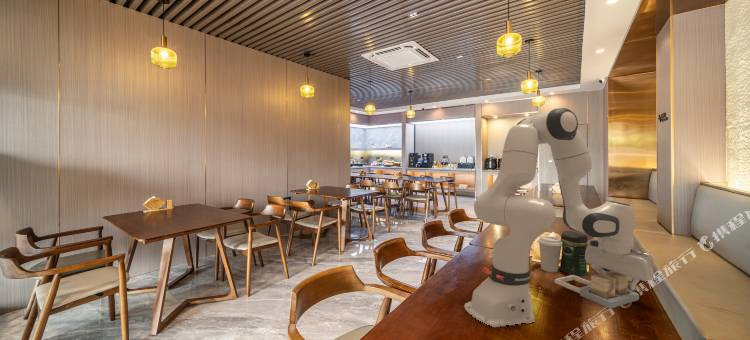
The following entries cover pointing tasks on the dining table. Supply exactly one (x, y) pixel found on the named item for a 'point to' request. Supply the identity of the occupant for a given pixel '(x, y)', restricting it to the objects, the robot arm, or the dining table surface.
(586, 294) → the grey hollow frame
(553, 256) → the coffee cup
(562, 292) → the dining table surface
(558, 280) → the tray
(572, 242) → the coffee jar
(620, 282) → the block
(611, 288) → the seated block
